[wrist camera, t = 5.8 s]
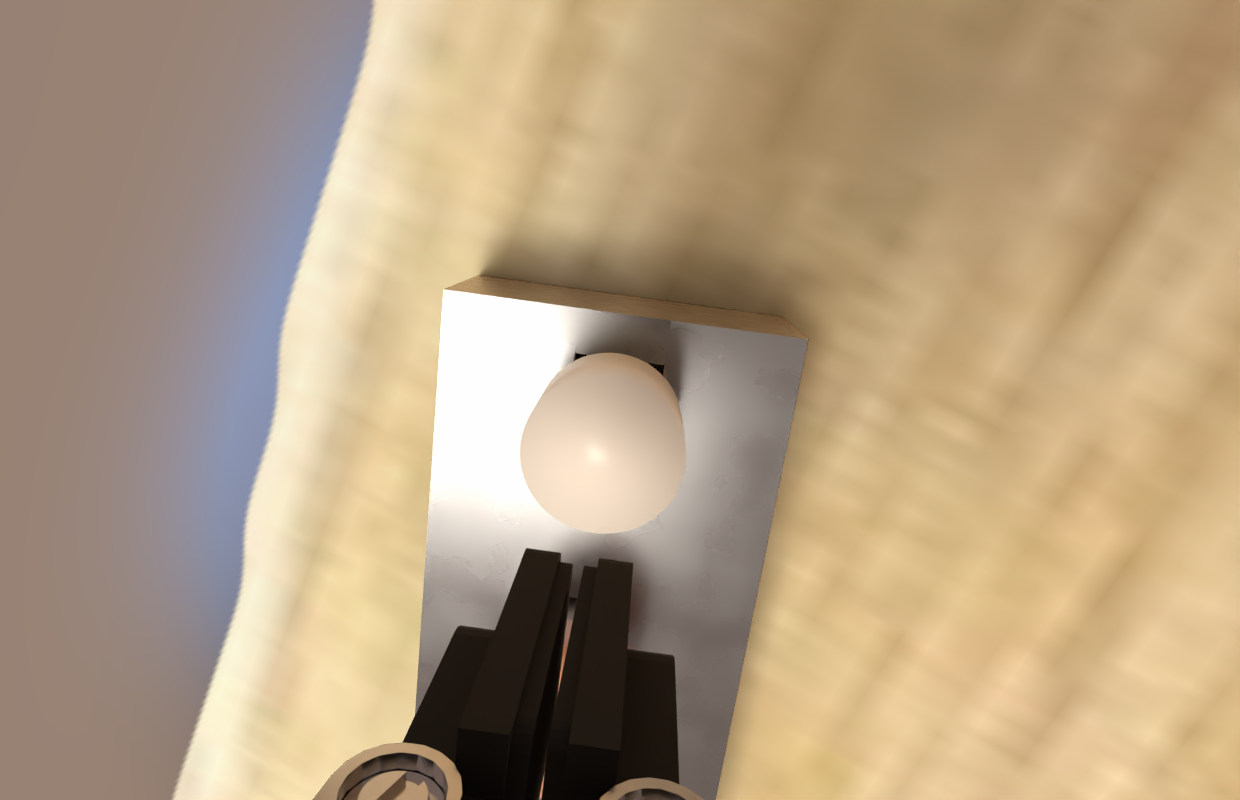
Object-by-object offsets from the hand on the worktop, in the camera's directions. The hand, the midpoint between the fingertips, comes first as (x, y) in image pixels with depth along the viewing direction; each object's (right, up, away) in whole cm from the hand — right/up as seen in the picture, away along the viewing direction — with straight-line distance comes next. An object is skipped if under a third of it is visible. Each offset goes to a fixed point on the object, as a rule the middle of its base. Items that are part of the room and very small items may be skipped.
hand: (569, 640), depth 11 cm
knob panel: (0, -4, +20) cm, 21 cm away
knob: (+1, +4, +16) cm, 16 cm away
